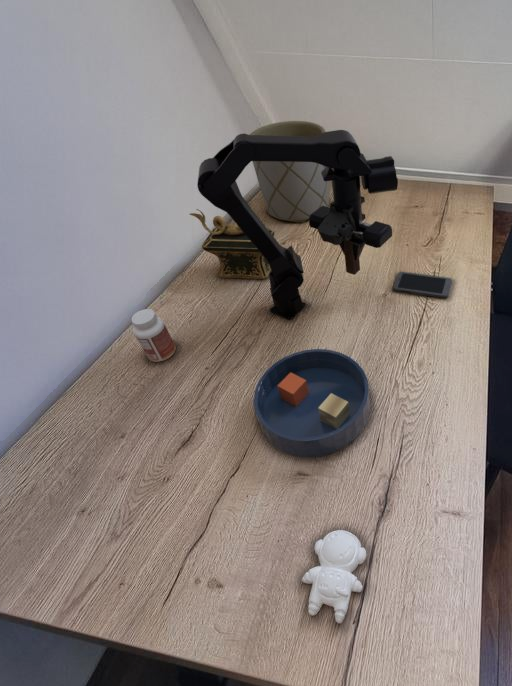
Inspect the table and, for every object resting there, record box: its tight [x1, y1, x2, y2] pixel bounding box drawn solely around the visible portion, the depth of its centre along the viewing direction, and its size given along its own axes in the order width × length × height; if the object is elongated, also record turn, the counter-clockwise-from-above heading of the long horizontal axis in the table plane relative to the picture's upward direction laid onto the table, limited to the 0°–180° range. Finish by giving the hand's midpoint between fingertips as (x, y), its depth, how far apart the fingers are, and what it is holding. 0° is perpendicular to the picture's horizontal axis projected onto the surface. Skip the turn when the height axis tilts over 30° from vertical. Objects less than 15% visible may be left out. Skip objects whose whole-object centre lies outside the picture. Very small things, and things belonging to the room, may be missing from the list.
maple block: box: [318, 393, 350, 429], centre depth 84 cm, size 4×4×4 cm
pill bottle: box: [131, 308, 176, 363], centre depth 98 cm, size 6×6×11 cm
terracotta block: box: [278, 372, 309, 406], centre depth 89 cm, size 4×4×4 cm
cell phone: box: [392, 271, 453, 299], centre depth 114 cm, size 7×14×1 cm, turn 74°
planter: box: [249, 120, 330, 224], centre depth 139 cm, size 23×23×24 cm
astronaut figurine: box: [301, 529, 367, 624], centre depth 65 cm, size 9×12×3 cm
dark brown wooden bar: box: [343, 232, 361, 276], centre depth 104 cm, size 2×2×11 cm
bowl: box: [253, 348, 371, 459], centre depth 86 cm, size 21×21×6 cm
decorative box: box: [188, 208, 275, 280], centre depth 117 cm, size 20×10×20 cm, turn 83°
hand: (352, 257), depth 105 cm, fingers closed on dark brown wooden bar, 2 cm apart
